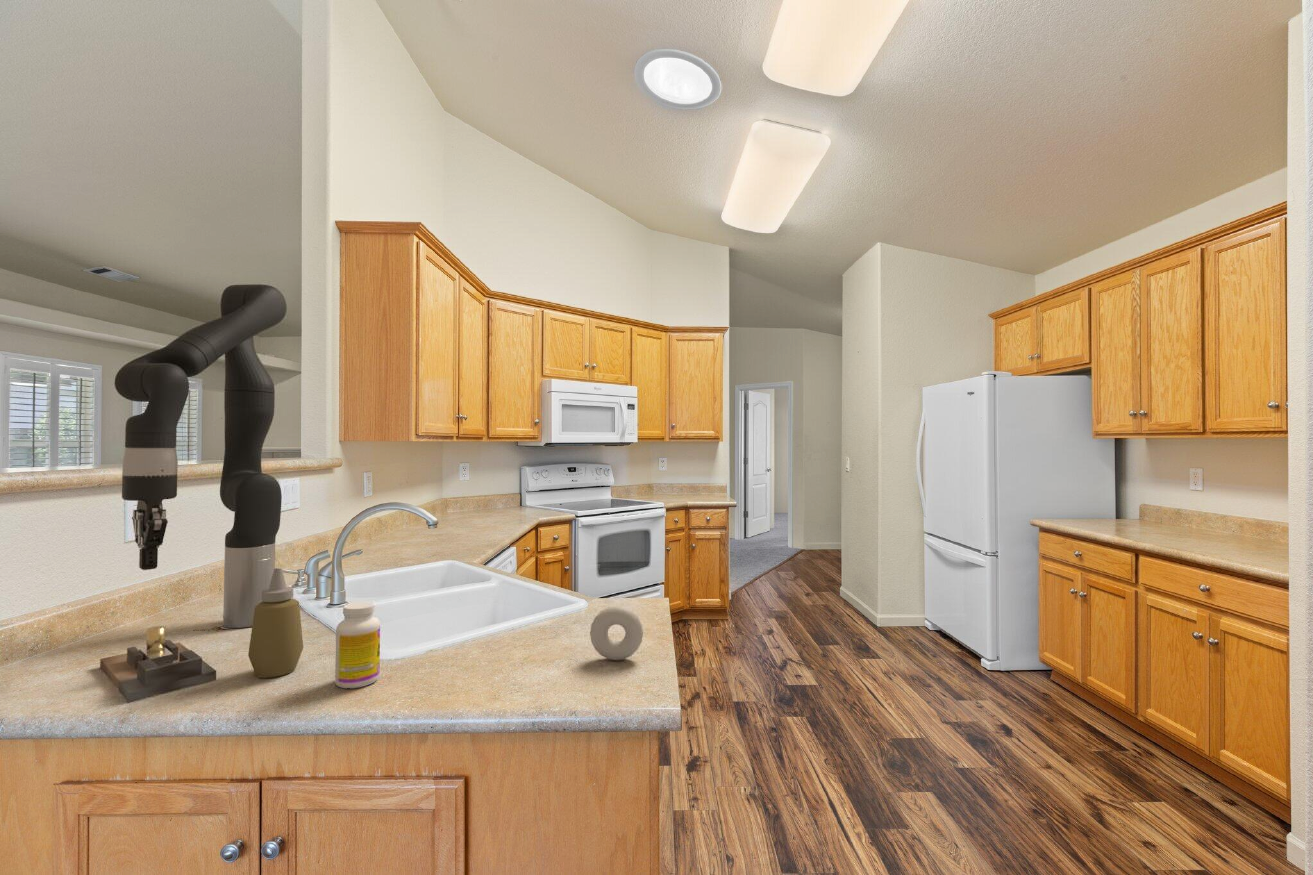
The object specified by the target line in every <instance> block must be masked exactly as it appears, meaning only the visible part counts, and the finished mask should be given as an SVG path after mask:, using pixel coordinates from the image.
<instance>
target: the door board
mask: <svg viewBox="0 0 1313 875" xmlns="http://www.w3.org/2000/svg"><path fill="white" fill-rule="evenodd" d="M165 648H166V649H168V650H169V651H170V652H171V653H173V663H172V664H168V665H163V666H159V667H158V666H157V665H156V664H155V663H154V662H153V661H152V660H151V659H148V660H143V654H142V653H141V652H140V651H139V648H137V647H136V646H130V647H127V648H126V653H122V654H118V655H113V656H108V657H104V658H100V659H99V661H100V662H99V667H100V669H101V670H102V671H103V673H104V674H105V675H106V677H107V678H108V679H109V680H110V681H111V683H112V684H113V685H114V686H115V687H116V689H117V688H118V689H117V690H118V691H119V692H120V694H121V695H122V696H123V697H124V699H125V700H126V699H127V700H126V701H127V702H128V703H132V702H136V701H139V700H140V701H141V700H143V699H147V698H146V697H148V698H152V697H155V696H158V695H161V694H162V695H163V694H168V693H170V691H171V692H174V690H175V691H178V690H181V689H185V688H190V687H193V686H197V685H200V684H206V683H208V682H209V683H210V682H213V681H217V670H216V669H215V668H213V667H212V666H211V665H210V664H208V663H207V662H206V661H204V660H203V657H201V656H200V655H199V654H197V653H196V652H195V651H193V650H192V649H189V648H187V647H186V646H185V645H183V644H182V643H181V642H176V643H174V642H173V641H171V640H170V639H165ZM189 686H190V687H189ZM154 695H155V696H154ZM151 696H152V697H151Z"/></svg>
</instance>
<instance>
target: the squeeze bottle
mask: <svg viewBox="0 0 1313 875" xmlns="http://www.w3.org/2000/svg"><path fill="white" fill-rule="evenodd" d="M262 601H263V602H261V603H259V604H258V605H257V606H256V607H255V610H254V617H253V624H252V626H251V634H250V639H249V647H248V652H247V653H248V654H247V655H248V659H249V662H250V664H251V667H252V669H253V672H254V675H255V676H256V677H258V678H264V679H265V678H267V679H268V678H275V677H280V676H284V675H287V674H290V673H292V672H294V671H295V670H296V668H297V666H298V664H299V661H300V658H301V655H302V653H303V650H304V641H303V640H304V639H303V631H302V630H303V629H302V628H303V627H302V619H301V617H302V616H301V608H300V607H301V606H300V602H299V601H298V600H297V599H295V598H294V587H292V586H287V583H286V580H285V575H284V571H283V568H282V567H277V568H276V567H275V569H274V572H273V575H272V579H271V583H270V586H269V589H265V590H263V591H262Z"/></svg>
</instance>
